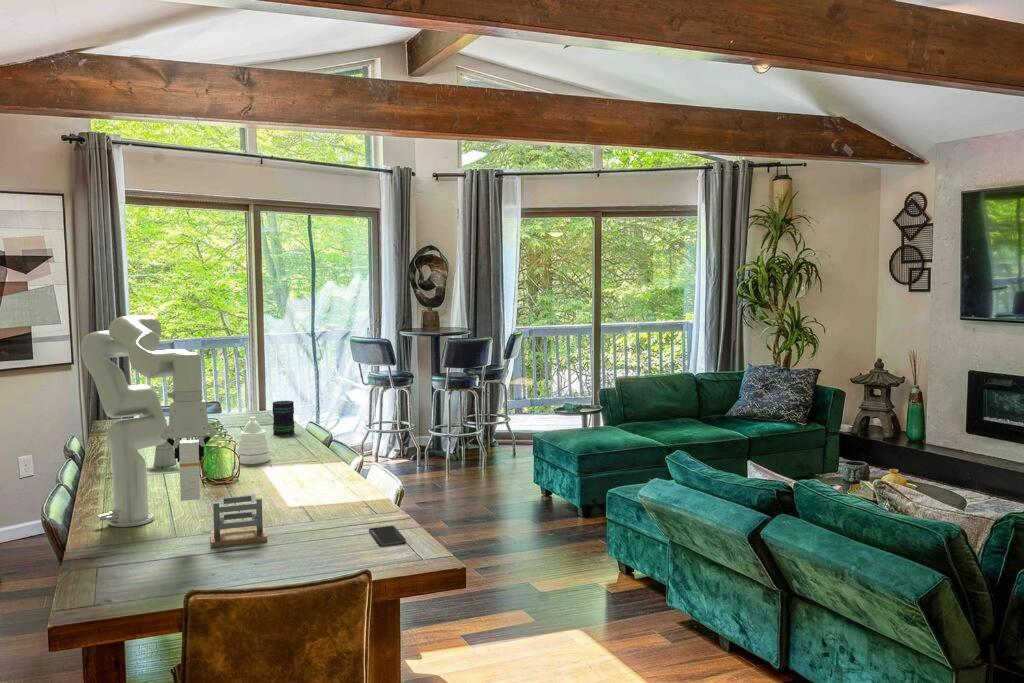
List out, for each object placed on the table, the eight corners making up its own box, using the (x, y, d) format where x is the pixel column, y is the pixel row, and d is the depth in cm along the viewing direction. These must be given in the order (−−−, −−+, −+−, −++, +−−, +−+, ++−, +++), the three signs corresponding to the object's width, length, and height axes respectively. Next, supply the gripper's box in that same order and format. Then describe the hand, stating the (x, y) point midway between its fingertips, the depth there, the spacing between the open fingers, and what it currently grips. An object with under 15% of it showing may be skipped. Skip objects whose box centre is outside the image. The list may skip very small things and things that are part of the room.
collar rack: (211, 547, 227) (209, 508, 226) (211, 535, 237) (209, 498, 236) (267, 541, 232) (266, 503, 231) (264, 529, 242) (263, 493, 241)
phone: (379, 544, 227) (368, 528, 241) (379, 548, 227) (368, 532, 241) (407, 540, 230) (394, 525, 244) (407, 544, 230) (394, 528, 244)
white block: (180, 501, 227) (178, 444, 226) (180, 495, 232) (179, 440, 230) (200, 499, 229) (198, 443, 227) (200, 494, 234) (199, 439, 232)
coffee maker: (143, 466, 322) (142, 421, 321) (158, 461, 331) (156, 417, 329) (176, 468, 319) (175, 422, 317) (190, 463, 327) (189, 418, 326)
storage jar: (272, 432, 389) (272, 401, 388) (294, 430, 392) (293, 400, 391) (273, 436, 380) (272, 404, 378) (295, 434, 383) (294, 403, 381)
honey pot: (271, 462, 328) (270, 418, 327) (237, 465, 323) (236, 420, 322) (268, 455, 340) (267, 412, 339) (236, 458, 335) (234, 415, 334)
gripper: (153, 400, 221) (155, 465, 223) (220, 397, 227) (221, 461, 229) (155, 395, 228) (157, 459, 230) (220, 393, 234) (221, 455, 236)
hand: (189, 459), depth 229 cm, fingers closed on white block, 5 cm apart
